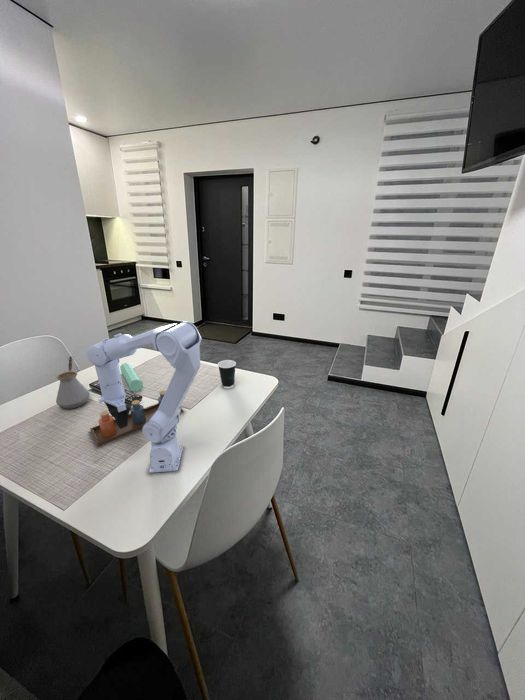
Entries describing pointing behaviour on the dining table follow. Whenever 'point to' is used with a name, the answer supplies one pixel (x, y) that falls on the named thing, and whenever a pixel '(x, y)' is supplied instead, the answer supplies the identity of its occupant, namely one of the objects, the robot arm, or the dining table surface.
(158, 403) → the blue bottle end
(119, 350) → the robot arm
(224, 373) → the dixie cup
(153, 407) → the tray
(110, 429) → the terracotta bottle
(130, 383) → the container
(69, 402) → the coffee pot
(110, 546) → the dining table surface
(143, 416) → the blue bottle middle
